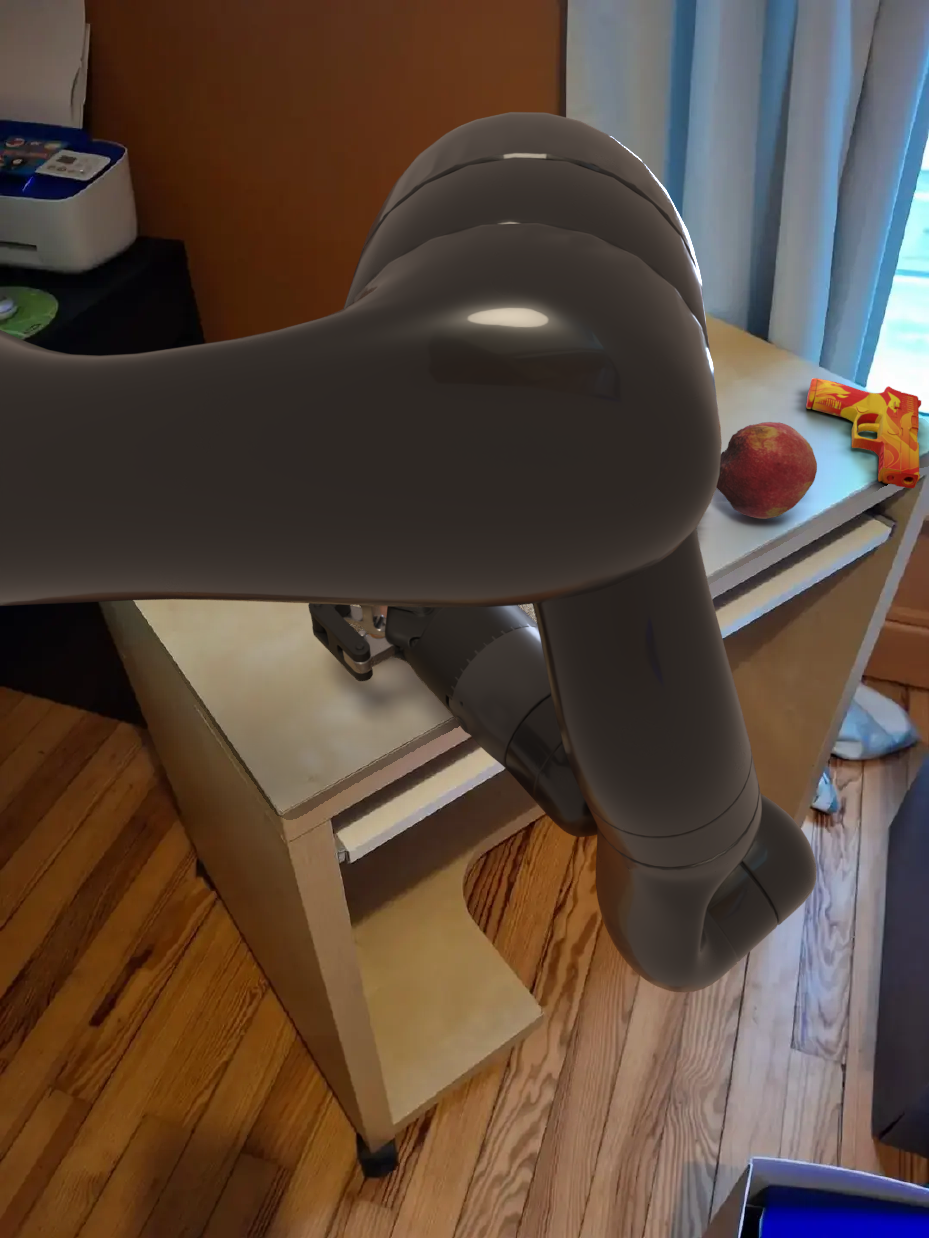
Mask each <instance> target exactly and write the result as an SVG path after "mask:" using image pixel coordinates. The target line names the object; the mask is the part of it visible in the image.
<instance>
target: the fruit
mask: <svg viewBox="0 0 929 1238" xmlns="http://www.w3.org/2000/svg"><path fill="white" fill-rule="evenodd" d="M817 472H818V462H817V459H816V456H815V452H814V449H813V447H812V446H811V444H810V442H808V440H807V439H806V438H805V437H804V436H803V435H802V434H801V433H800V432H799V431H798V430H796V429H795V428H794V427H793V426H790V425H788V424H786V423H783V422H775V421H774V422H773V421H766V422H760V423H755V424H749V425H746V426H745V427H743V428H740V429H739V430H737V431H736V432H735V433H734V434H732V436H731V437H730V439H729V441H728V444H727V448H726V449H725V450H724V451H721V461H720V472H719V478H718V482H717V487H716V490H718V491H719V492H720V493H721V494H722V495H723V496H724V497H725V499H726V500H727V501H728V502H729V504H730V505H731V506H732V508H733V510H735V511H737V512H738V513H739V514H741V515H744V516H747V517H751V518H755V519H765V520H766V519H774V518H776V517H779V516H782V515H784V514H785V513H787V512H788V511H790V510H792V509H793V508H794V507H796V506H797V505H798V503H800V501H801V500H802V499H803V498H804V496H805V495H806V494H807V492H808V491H809V489H810V488H811V487H812V486H813V484H814V482H815V480H816V476H817Z"/></svg>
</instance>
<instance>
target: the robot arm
mask: <svg viewBox="0 0 929 1238" xmlns="http://www.w3.org/2000/svg"><path fill="white" fill-rule="evenodd" d="M360 251H361V252H360V255H359V259H358V261H357V264H356V267H355V270H354V272H353V277H352V280H351V283H350V286H349V289H348V293H347V296H346V298H345V301H344V305H343V308H342V309H340V310H338V311H335V312H333V313H330V314H328V315H326V316H323V317H320V318H316V319H312V320H309V321H305V322H302V323H298V324H295V325H289V326H287V327H283V328H280V329H276V330H271V331H266V332H262V333H256V334H252V335H247V336H243V337H237V338H232V339H227V340H220V341H213V342H212V341H211V342H206V343H199V344H193V345H186V346H179V347H173V348H172V347H171V348H167V349H160V350H153V351H146V352H138V353H125V354H108V355H107V354H105V355H90V354H88V355H87V354H72V353H71V354H70V353H66V352H61V351H56V350H50V349H47V348H44V347H41V346H39V345H36V344H33V343H30V342H28V341H25V340H24V339H21V338H19V337H17V336H15V335H13V334H10V333H8V332H6V331H4V330H2V329H0V607H8V606H9V607H11V606H25V605H26V606H28V605H51V604H52V605H53V604H55V605H56V604H76V603H101V602H103V603H104V602H125V601H162V600H163V601H164V600H165V601H166V600H167V601H168V600H180V601H181V600H183V601H184V600H185V601H196V600H197V601H226V602H227V601H229V602H230V601H231V602H260V603H261V602H262V603H287V604H288V603H289V604H307V605H308V611H309V614H310V619H311V625H312V626H311V629H312V633H313V636H314V637H315V638H316V639H317V640H318V641H319V642H320V643H321V645H323V646H324V647H325V648H326V650H327V651H328V652H330V654H331V655H332V656H333V657H334V658H335V659H336V660H337V661H338V662H339V663H340V664H341V665H342V666H343V667H344V668H345V669H346V671H347V672H348V673H349V674H350V675H351V676H352V677H353V678H354V679H355V680H356V681H358V682H367V681H369V680H371V679H372V678H373V676H374V669H373V668H374V667H376V666H378V665H379V664H381V663H383V662H385V661H386V660H388V659H391V657H394V658H396V659H399V660H401V661H404V662H405V663H407V664H408V665H409V667H411V668H412V670H413V671H414V673H415V674H416V675H417V677H418V678H419V679H420V681H422V683H423V684H424V685H425V686H426V687H427V688H428V689H429V691H430V692H431V693H432V694H433V695H434V696H435V698H436V699H438V701H439V702H440V703H441V704H442V705H443V706H444V707H445V709H446V710H447V711H448V712H449V714H451V716H452V717H453V718H454V719H455V720H456V722H457V724H458V725H459V727H460V728H461V729H462V730H463V732H465V734H466V733H467V735H470V737H471V738H472V739H473V740H474V741H475V743H477V745H479V747H480V748H482V750H483V751H485V753H486V754H488V755H489V756H490V757H491V758H492V759H494V760H495V761H497V763H499V764H500V765H501V766H502V767H503V768H504V769H505V770H506V771H507V772H508V773H510V775H512V777H513V778H514V779H515V780H516V781H517V782H518V784H519V785H520V786H521V787H522V788H523V789H524V791H526V793H527V794H528V795H529V796H530V797H531V798H532V799H533V801H535V803H536V804H537V805H538V806H539V807H540V809H541V810H542V811H543V812H544V813H545V814H546V816H547V817H549V819H550V820H551V821H552V822H553V823H554V824H555V825H556V826H557V827H558V828H560V829H561V830H562V831H563V832H565V833H566V834H568V835H570V836H572V837H577V838H588V837H595V836H596V851H595V852H596V855H595V891H596V898H597V903H598V907H599V911H600V914H601V918H602V921H603V924H604V926H605V929H606V931H607V934H608V935H609V938H610V939H611V941H612V944H613V945H614V947H615V949H616V950H617V951H618V953H619V954H620V956H621V957H622V958H623V960H624V962H626V963H627V965H628V966H629V967H630V968H631V969H632V970H633V971H634V972H635V973H636V974H638V975H639V976H640V977H641V978H643V979H644V980H645V981H647V982H648V983H650V984H651V985H653V986H655V987H657V988H660V989H662V990H666V991H669V992H673V993H684V994H685V993H695V992H697V991H702V990H704V989H706V988H708V987H710V986H711V985H713V984H715V983H716V982H718V981H719V980H721V978H723V977H724V976H725V975H727V973H728V972H729V971H731V970H732V969H733V968H734V967H735V965H737V964H738V963H739V962H740V961H742V959H743V958H745V957H746V956H747V955H748V954H749V953H750V952H751V951H752V950H754V949H755V948H756V947H757V946H758V945H759V944H760V943H761V942H762V941H764V939H765V938H767V937H768V936H769V935H770V934H771V933H773V932H774V931H775V930H776V928H777V927H778V926H780V925H781V924H782V923H783V922H784V921H786V920H787V919H788V918H789V917H790V916H792V914H793V913H795V912H796V911H797V910H798V909H799V908H800V907H801V906H802V905H803V904H804V903H805V902H806V901H807V900H808V898H809V897H810V895H811V894H812V893H813V891H814V889H815V886H816V882H817V871H818V870H817V869H818V868H817V863H816V857H815V854H814V851H813V849H812V846H811V843H810V841H809V840H808V837H807V835H806V834H805V832H804V831H803V829H802V828H801V826H800V825H799V824H798V823H797V822H796V820H795V819H794V818H793V817H792V816H791V815H790V813H788V812H787V811H786V810H785V809H783V808H782V807H781V806H780V805H778V804H777V803H776V802H775V801H774V800H773V799H771V798H769V797H768V796H766V795H765V794H763V793H761V786H760V783H759V779H758V773H757V769H756V764H755V760H754V755H753V751H752V746H751V740H750V736H749V732H748V729H747V725H746V722H745V717H744V714H743V709H742V705H741V702H740V698H739V693H738V690H737V686H736V682H735V679H734V675H733V671H732V668H731V663H730V660H729V657H728V654H727V650H726V646H725V642H724V639H723V634H722V631H721V629H720V624H719V619H718V617H717V612H716V608H715V605H714V601H713V597H712V593H711V589H710V584H709V582H708V581H709V580H708V575H707V572H706V568H705V563H704V558H703V554H702V550H701V545H700V539H699V534H698V528H697V527H698V526H699V525H700V523H701V521H702V519H703V517H704V515H705V513H706V512H707V510H708V508H709V506H710V505H711V502H712V500H713V497H714V496H715V493H716V490H717V488H716V487H717V482H718V478H719V472H720V461H721V453H722V445H723V444H722V428H721V422H720V421H721V420H720V413H719V405H718V398H717V389H716V381H715V366H714V364H713V360H712V355H711V347H710V340H709V333H708V327H707V321H706V313H705V306H704V292H703V283H702V277H701V271H700V268H699V264H698V262H697V258H696V255H695V249H694V246H693V244H692V240H691V237H690V234H689V231H688V229H687V227H686V225H685V224H684V221H683V220H682V217H681V216H680V213H679V211H678V210H677V208H676V206H675V204H674V202H673V201H672V199H671V196H670V194H669V193H668V191H667V189H666V188H665V187H664V185H663V184H662V183H661V182H660V181H659V180H658V178H657V177H656V176H655V175H654V174H653V172H652V171H651V170H650V169H649V168H648V166H647V165H646V164H645V163H644V162H643V161H642V159H641V158H639V156H637V155H636V154H634V153H633V152H632V151H631V150H630V149H628V148H627V147H626V146H625V145H624V144H622V143H621V142H620V141H618V140H617V139H616V138H615V137H613V136H611V135H609V134H608V133H606V132H603V131H601V130H600V129H598V128H595V127H594V126H591V125H589V124H587V123H585V122H583V121H582V120H578V119H573V118H570V117H566V116H561V115H556V114H553V113H550V112H535V111H534V112H530V111H529V112H528V111H527V112H525V111H509V112H505V113H500V114H496V115H491V116H486V117H482V118H477V119H474V120H472V121H469V122H466V123H464V124H462V125H459V126H458V127H455V128H454V129H452V130H450V131H448V132H446V133H445V134H443V135H442V136H441V137H440V138H438V139H437V140H436V141H434V142H433V143H432V144H431V145H429V146H428V147H427V148H425V149H423V151H421V152H420V153H419V154H418V155H417V156H416V157H415V158H414V160H413V161H412V162H411V163H410V164H409V165H408V167H407V168H405V170H404V171H403V172H402V174H401V175H400V176H399V177H398V179H397V180H396V181H395V182H394V184H393V186H392V187H391V189H390V190H389V192H388V194H387V196H386V198H385V199H384V201H383V204H382V205H381V207H380V209H379V210H378V213H377V214H376V216H375V217H374V220H373V222H372V224H371V226H370V228H369V230H368V232H367V234H366V237H365V240H364V243H363V246H362V249H361V250H360ZM524 605H525V606H526V605H532V607H533V612H534V615H535V620H534V619H533V618H532V616H530V615H529V614H528V613H527V612H526V611H525V610H524V609H523V608H521V607H520V606H524ZM380 606H388V607H387V615H386V618H385V617H384V616H383V615H382V614H381V612H380ZM352 625H354V626H358V627H361V628H362V629H361V630H359V631H358V630H356V629H355V628H354V627H353V626H352ZM369 633H370V634H374V635H379V636H383V637H384V638H380V639H376V638H373V637H371V636H370V635H368V634H369Z"/></svg>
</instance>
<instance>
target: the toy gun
mask: <svg viewBox="0 0 929 1238" xmlns="http://www.w3.org/2000/svg"><path fill="white" fill-rule="evenodd" d="M921 406H922V400H921V399H919V396H918V395H914V394H912V393H911V394H910V393H907V392H902V391H900V390H898V389H895V388H892V387H891V386H886V387H885V388H884V390H883V391H882V392H870V391H866V390H861V389H859V388H856V387H852V386H850V385H847V384H843V383H841V382H837V381H832V380H828V379H823V378H815V377H813V378H811V380H810V384H809V389H808V393H807V398H806V405H805V408H806V409H808V410H811V409H812V410H814V411H817V412H822V413H826V414H829V415H832V416H836V417H840V418H844V419H846V420H849V421H850V422H852V423H853V425H852V428H851V448H853V449H863V450H868V451H871V452H873V453H875V454H876V455H877V457H878V469H877V470H878V471H877V480H878V482H882V483H883V484H887V485H894V486H895V487H900V488H905V489H915V488H916V486H917V484H918V482H920V479H921V474H920V443H919V440H918V433H919V431H920V418H919V416H920V410H919V409H920V407H921ZM862 432H871V433H877V435H876V436H877V437H876V438H869V437H865V436H861V435H859V433H862Z"/></svg>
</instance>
